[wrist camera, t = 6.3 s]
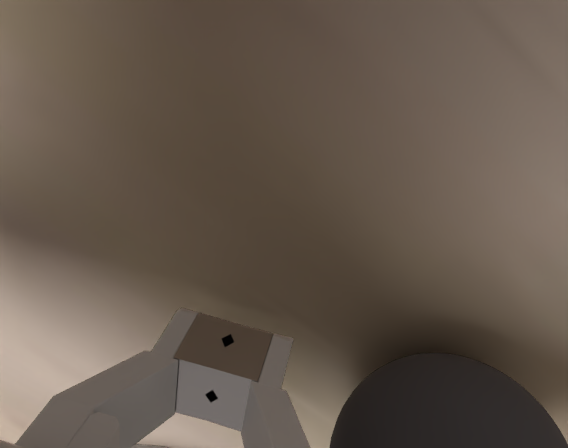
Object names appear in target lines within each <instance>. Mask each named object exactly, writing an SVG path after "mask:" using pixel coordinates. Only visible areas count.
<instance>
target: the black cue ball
mask: <svg viewBox="0 0 568 448" xmlns="http://www.w3.org/2000/svg"><path fill="white" fill-rule="evenodd" d="M330 448H568V444H567V442H566V440H565V438H564V437H563V435H562V433H561V431H560V430H559V428H558V427H557V425H556V424H555V422H554V421H553V419H552V418H551V417H550V415H549V414H548V413H547V411H546V410H545V409H544V407H543V406H542V405H541V404H540V403H539V402H538V401H537V400H536V399H535V398H534V397H533V396H532V395H531V394H530V393H529V392H528V391H527V390H526V389H524V388H523V387H522V386H521V385H520V384H518V383H517V382H516V381H514V380H513V379H511V378H510V377H508V376H507V375H505V374H503V373H502V372H500V371H498V370H496V369H494V368H492V367H490V366H488V365H486V364H484V363H481V362H479V361H476V360H473V359H470V358H467V357H463V356H458V355H453V354H447V353H426V354H416V355H410V356H407V357H403V358H400V359H397V360H394V361H392V362H390V363H388V364H386V365H384V366H382V367H380V368H379V369H377V370H376V371H374V372H373V373H372V374H370V375H369V376H368V377H367V378H365V379H364V380H363V381H362V382H361V383H360V384H359V385H358V386H357V387H356V389H355V390H354V391H353V392H352V394H351V395H350V397H349V398H348V400H347V401H346V403H345V404H344V406H343V408H342V410H341V412H340V414H339V416H338V418H337V421H336V424H335V428H334V431H333V434H332V437H331V443H330Z"/></svg>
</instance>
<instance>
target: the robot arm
mask: <svg viewBox="0 0 568 448" xmlns="http://www.w3.org/2000/svg"><path fill="white" fill-rule="evenodd" d="M292 344H293V338H291V337H287V336H283V335H280V334H276V333H272V332H268V331H264V330H260V329H256V328H253V327H249V326H245V325H241V324H237V323H233V322H230V321H226V320H223V319H220V318H217V317H213V316H210V315H207V314H203V313H198V312H195V311H192V310H188V309H185V308H182V307H181V308H180V309H178V310H177V311H176V313H175V314H174V316H173V317H172V319H171V321H170V322H169V324H168V325H167V327H166V329H165V330H164V332H163V333H162V335H161V336H160V338H159V340H158V341H157V343H156V344H155V346H154V348H153V349H152V351H151V352H149V351H143V352H141V353H139V354H137V355H135V356H133V357H131V358H129V359H127V360H125V361H123V362H121V363H119V364H117V365H115V366H113V367H111V368H109V369H107V370H105V371H103V372H101V373H99V374H97V375H95V376H93V377H91V378H89V379H87V380H85V381H83V382H81V383H79V384H77V385H75V386H73V387H71V388H69V389H67V390H65V391H63V392H61V393H59V394H57V395H55V396H53V397H52V399H51V400H50V401H49V402H48V404H47V405H46V406H45V407H44V409H43V410H42V411H41V412H40V414H39V415H38V416H37V417H36V419H35V420H34V421H33V422H32V424H31V425H30V426H29V427H28V429H27V430H26V431H25V432H24V434H23V435H22V436H21V437H20V439H19V440H18V441H17V442H16V444H12V443H9V442H5V441H2V440H0V448H131V447H132V446H133V445H135V444H136V443H137V442H139V441H140V440H141V439H143V438H144V437H145V436H147V435H148V434H149V433H151V432H152V431H153V430H154V429H156V428H157V427H158V426H160V425H161V424H162V423H164V422H165V421H166V420H168V419H169V418H170V417H172V416H173V415H174V414H175V412H177V413H180V414H184V415H188V416H192V417H195V418H199V419H203V420H207V421H210V422H213V423H216V424H219V425H222V426H225V427H228V428H232V429H235V430H238V431H241V435H242V440H243V444H244V448H310V445H309V443H308V441H307V438H306V436H305V433H304V431H303V429H302V426H301V424H300V422H299V419H298V417H297V414H296V412H295V410H294V407H293V405H292V403H291V400H290V398H289V395H288V393H287V391H285V390H282V389H281V388H282V384H283V380H284V376H285V372H286V368H287V364H288V360H289V356H290V352H291V348H292Z"/></svg>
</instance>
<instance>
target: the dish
mask: <svg viewBox="0 0 568 448" xmlns="http://www.w3.org/2000/svg"><path fill="white" fill-rule="evenodd" d="M131 448H169V447H165V446H154V445H140V444H135V445H133V446H132V447H131Z"/></svg>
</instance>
